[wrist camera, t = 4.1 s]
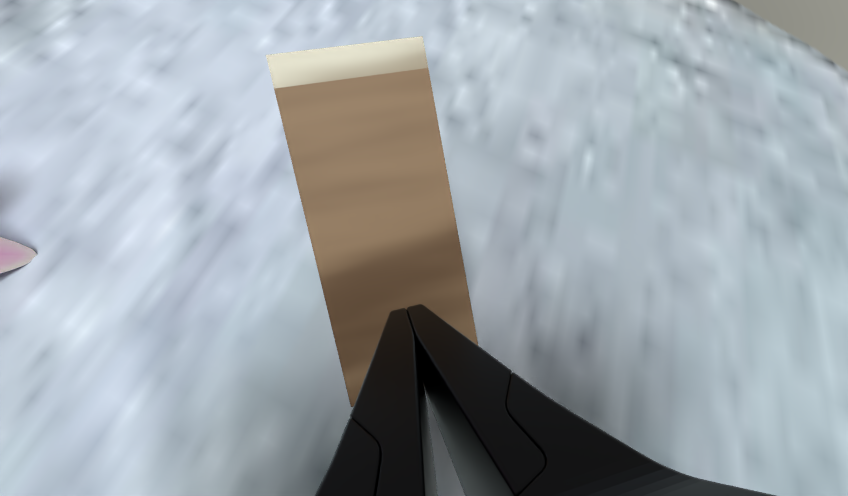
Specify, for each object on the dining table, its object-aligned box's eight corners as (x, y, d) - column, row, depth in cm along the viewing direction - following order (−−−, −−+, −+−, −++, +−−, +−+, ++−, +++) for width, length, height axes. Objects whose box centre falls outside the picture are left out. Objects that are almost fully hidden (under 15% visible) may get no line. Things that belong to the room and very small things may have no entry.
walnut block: (482, 370, 12) (422, 36, 11) (351, 407, 12) (266, 55, 10) (450, 326, 17) (405, 92, 16) (356, 349, 17) (300, 107, 15)
